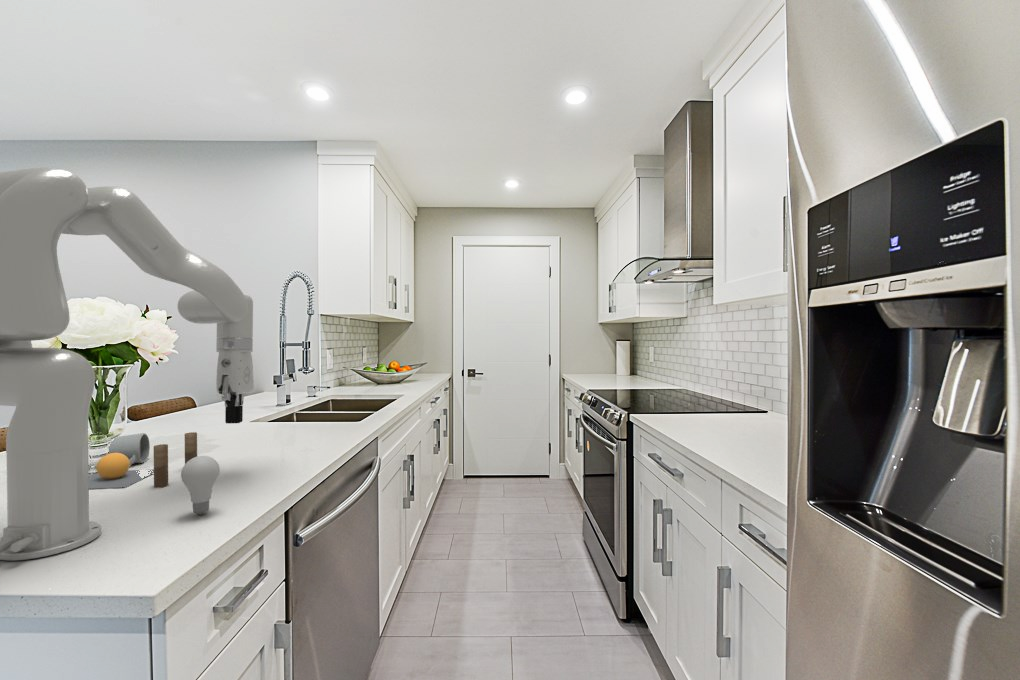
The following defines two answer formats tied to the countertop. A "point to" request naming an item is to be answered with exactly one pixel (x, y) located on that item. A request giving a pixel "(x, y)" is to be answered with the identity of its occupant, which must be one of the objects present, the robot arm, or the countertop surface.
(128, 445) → the ceramic mug
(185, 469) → the lightbulb
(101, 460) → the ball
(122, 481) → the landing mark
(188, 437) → the gate post right
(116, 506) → the countertop surface
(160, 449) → the gate post left
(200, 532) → the countertop surface
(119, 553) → the countertop surface
